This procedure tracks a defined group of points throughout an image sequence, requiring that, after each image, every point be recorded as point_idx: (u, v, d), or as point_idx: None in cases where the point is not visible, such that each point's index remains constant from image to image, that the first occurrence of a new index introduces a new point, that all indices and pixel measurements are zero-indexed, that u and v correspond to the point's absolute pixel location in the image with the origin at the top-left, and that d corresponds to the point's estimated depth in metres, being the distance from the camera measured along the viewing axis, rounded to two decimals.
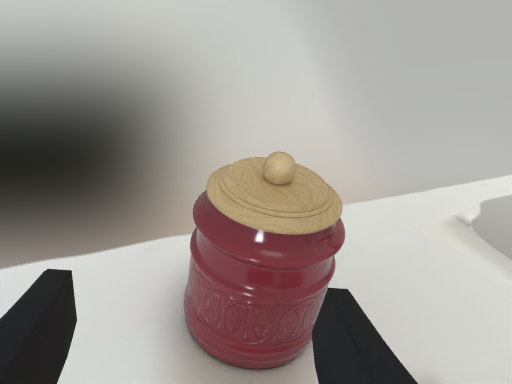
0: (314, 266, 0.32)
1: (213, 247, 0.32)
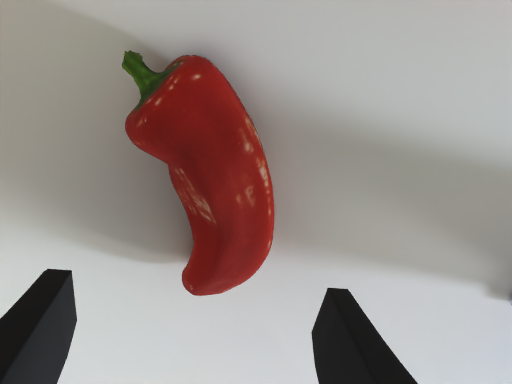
0: None
1: None
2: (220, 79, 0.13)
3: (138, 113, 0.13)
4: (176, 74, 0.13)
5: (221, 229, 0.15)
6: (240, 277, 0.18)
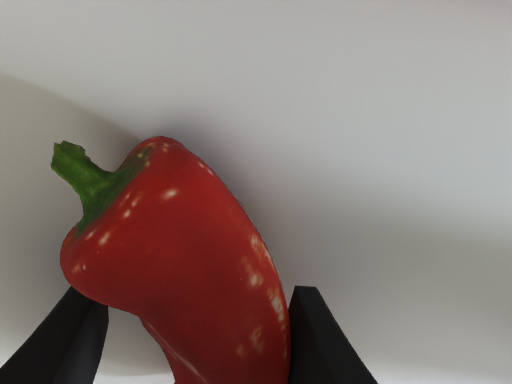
0: None
1: None
2: (211, 189, 0.08)
3: (74, 252, 0.08)
4: (136, 190, 0.07)
5: None
6: None
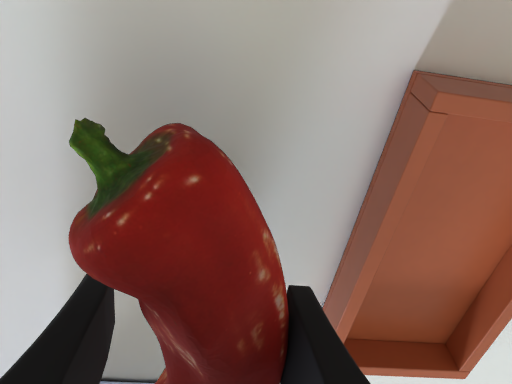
0: None
1: None
2: (231, 179, 0.08)
3: (88, 231, 0.08)
4: (159, 174, 0.07)
5: (209, 383, 0.10)
6: None
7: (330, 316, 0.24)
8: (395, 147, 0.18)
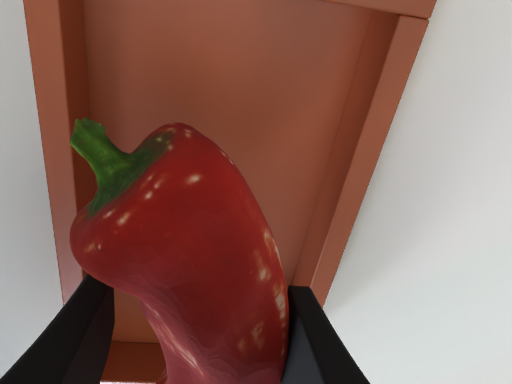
0: None
1: None
2: (232, 179, 0.08)
3: (88, 230, 0.07)
4: (160, 172, 0.07)
5: (209, 383, 0.10)
6: None
7: None
8: None
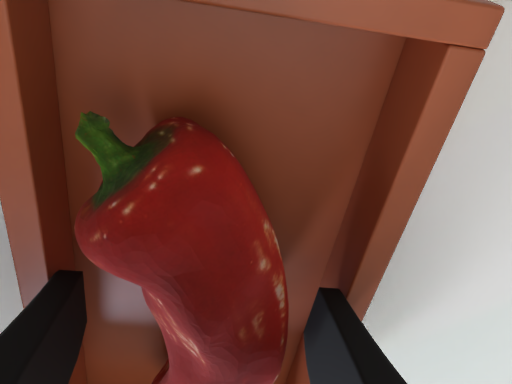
0: None
1: None
2: (232, 170, 0.08)
3: (94, 220, 0.08)
4: (163, 164, 0.08)
5: (211, 371, 0.11)
6: None
7: None
8: None
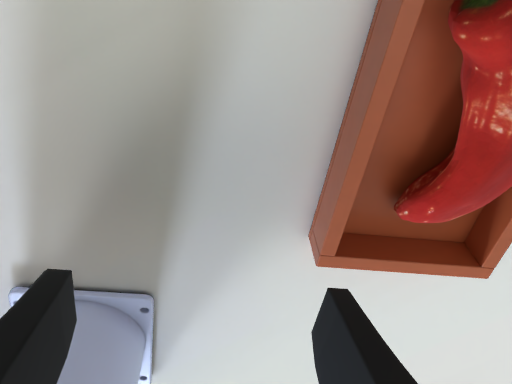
0: None
1: None
2: None
3: (504, 5, 0.13)
4: None
5: (511, 142, 0.16)
6: (484, 202, 0.18)
7: (330, 193, 0.20)
8: None
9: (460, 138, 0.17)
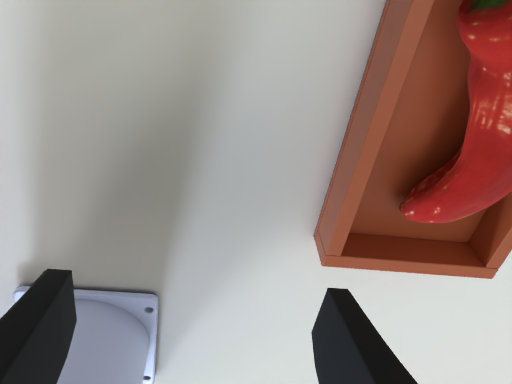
0: None
1: None
2: None
3: None
4: None
5: None
6: (490, 202, 0.18)
7: (336, 193, 0.20)
8: None
9: (467, 138, 0.17)
